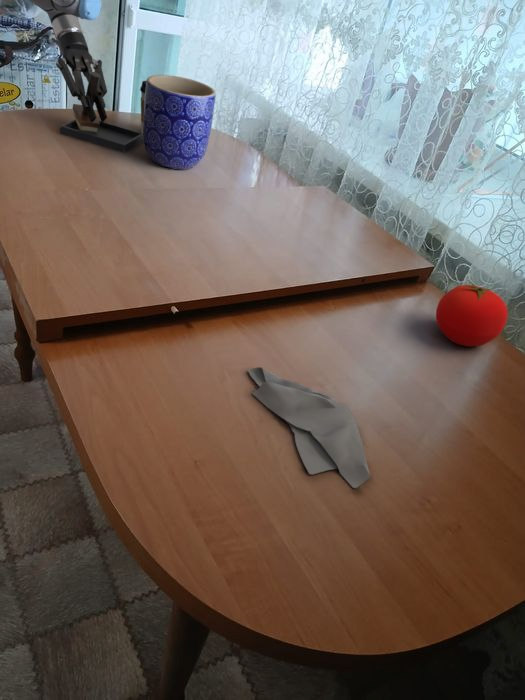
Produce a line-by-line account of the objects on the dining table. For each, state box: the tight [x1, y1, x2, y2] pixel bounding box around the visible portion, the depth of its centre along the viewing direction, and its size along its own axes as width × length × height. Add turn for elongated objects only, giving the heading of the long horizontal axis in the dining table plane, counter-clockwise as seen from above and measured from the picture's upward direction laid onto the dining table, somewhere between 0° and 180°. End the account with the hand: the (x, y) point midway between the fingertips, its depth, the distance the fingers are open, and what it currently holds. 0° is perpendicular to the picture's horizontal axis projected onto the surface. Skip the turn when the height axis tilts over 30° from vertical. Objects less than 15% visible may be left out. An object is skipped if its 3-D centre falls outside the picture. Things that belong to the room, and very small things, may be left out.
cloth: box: [247, 366, 371, 490], centre depth 83 cm, size 26×14×2 cm, turn 27°
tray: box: [59, 119, 144, 153], centre depth 159 cm, size 20×14×2 cm
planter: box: [143, 74, 217, 170], centre depth 149 cm, size 18×18×21 cm
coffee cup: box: [139, 80, 147, 133], centre depth 165 cm, size 8×8×15 cm
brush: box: [71, 71, 100, 132], centre depth 155 cm, size 8×5×15 cm, turn 30°
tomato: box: [435, 280, 509, 347], centre depth 109 cm, size 12×14×11 cm
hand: (98, 119), depth 154 cm, fingers closed on brush, 3 cm apart
